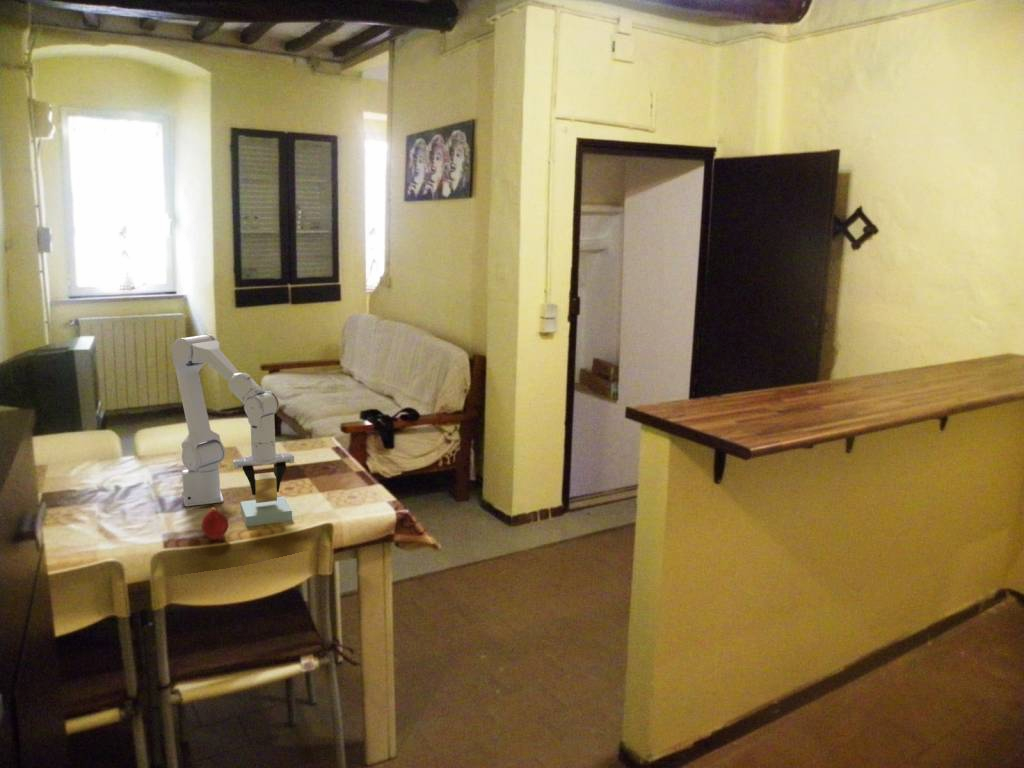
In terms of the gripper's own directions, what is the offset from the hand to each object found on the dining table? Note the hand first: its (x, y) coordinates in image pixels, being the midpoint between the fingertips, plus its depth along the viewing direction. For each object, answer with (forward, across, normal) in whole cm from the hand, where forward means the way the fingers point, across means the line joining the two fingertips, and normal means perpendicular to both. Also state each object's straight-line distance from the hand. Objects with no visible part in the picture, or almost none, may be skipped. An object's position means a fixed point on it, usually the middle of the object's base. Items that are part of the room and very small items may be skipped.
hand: (265, 492), depth 196 cm
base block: (+7, 0, 0) cm, 7 cm away
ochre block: (+2, 0, 0) cm, 2 cm away
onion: (+6, -13, -11) cm, 18 cm away
